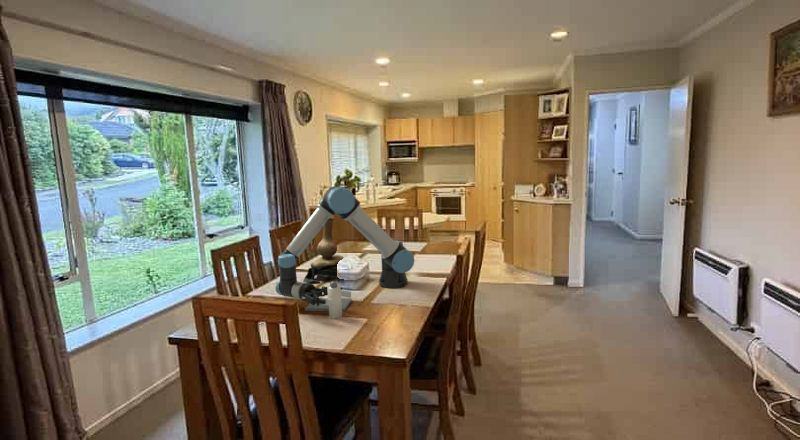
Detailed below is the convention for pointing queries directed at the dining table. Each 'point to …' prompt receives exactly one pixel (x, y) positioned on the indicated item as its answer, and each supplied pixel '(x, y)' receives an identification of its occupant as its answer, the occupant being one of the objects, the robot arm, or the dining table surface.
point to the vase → (325, 256)
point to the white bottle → (335, 300)
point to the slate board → (326, 308)
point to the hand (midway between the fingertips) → (341, 298)
